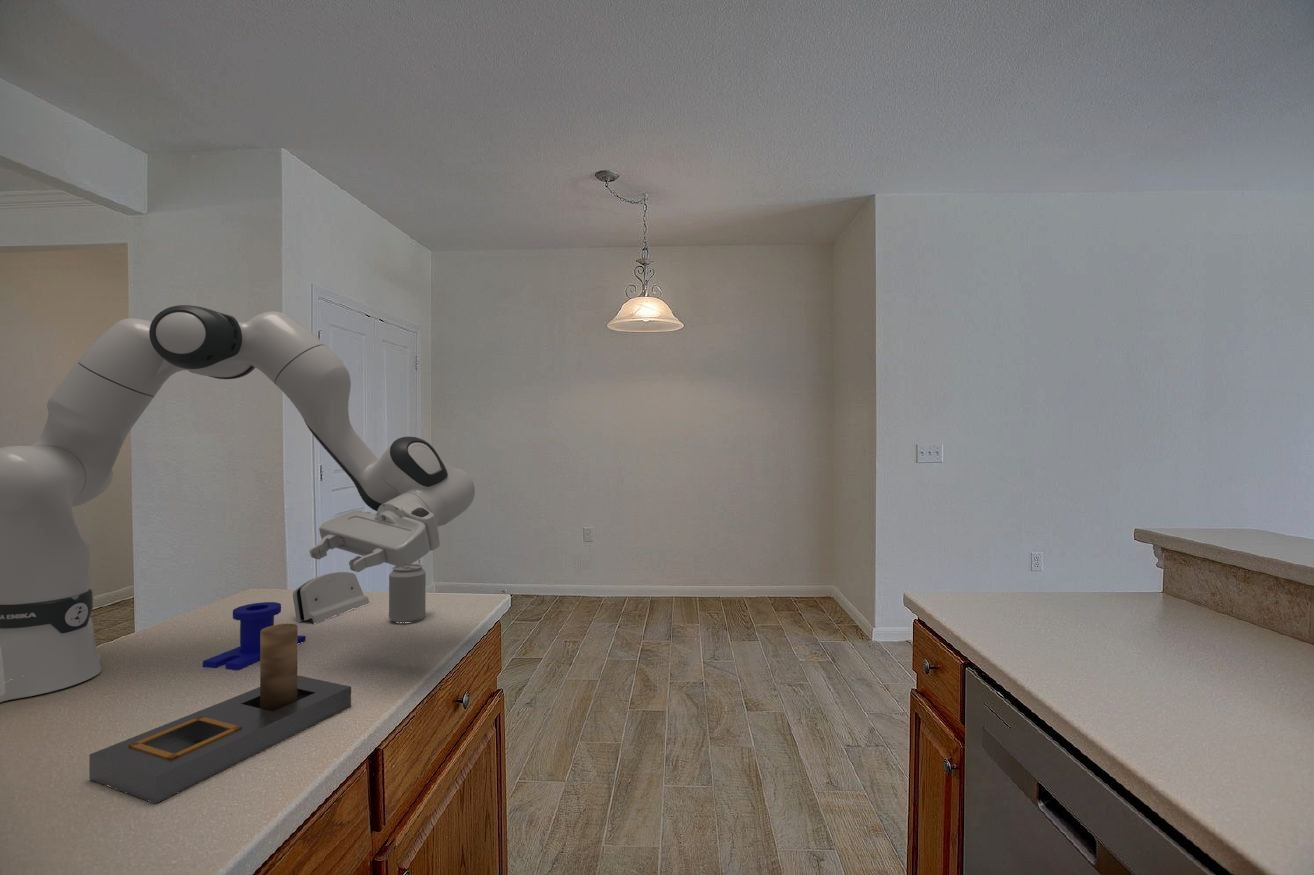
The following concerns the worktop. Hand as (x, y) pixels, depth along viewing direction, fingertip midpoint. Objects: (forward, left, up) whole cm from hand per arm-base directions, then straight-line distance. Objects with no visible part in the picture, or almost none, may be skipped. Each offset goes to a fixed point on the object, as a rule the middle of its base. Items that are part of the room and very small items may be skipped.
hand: (332, 561), depth 94 cm
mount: (-24, +16, -21) cm, 36 cm away
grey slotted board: (-5, -15, -21) cm, 26 cm away
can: (-5, +37, -21) cm, 43 cm away
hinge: (-25, +42, -21) cm, 53 cm away
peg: (-2, -9, -21) cm, 23 cm away
